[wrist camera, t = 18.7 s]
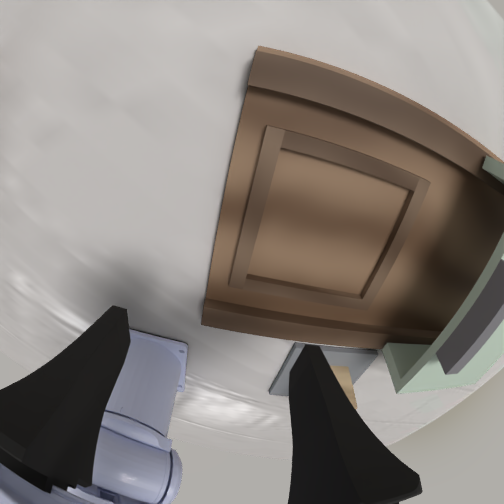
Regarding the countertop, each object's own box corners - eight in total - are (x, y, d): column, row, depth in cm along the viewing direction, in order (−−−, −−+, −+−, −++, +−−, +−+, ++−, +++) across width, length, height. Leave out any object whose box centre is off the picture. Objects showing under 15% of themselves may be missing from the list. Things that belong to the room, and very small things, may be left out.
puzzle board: (457, 344, 25) (462, 353, 24) (203, 314, 22) (200, 328, 21) (541, 200, 15) (551, 206, 14) (258, 47, 12) (258, 42, 11)
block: (332, 386, 27) (338, 424, 23) (298, 384, 27) (302, 425, 23) (348, 366, 25) (357, 407, 21) (312, 364, 25) (318, 407, 21)
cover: (458, 351, 23) (480, 398, 17) (381, 349, 22) (402, 413, 16) (545, 208, 14) (589, 245, 8) (486, 155, 12) (557, 194, 7)
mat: (339, 394, 29) (340, 398, 29) (269, 390, 29) (269, 394, 28) (376, 350, 25) (378, 354, 24) (295, 342, 24) (295, 347, 24)
